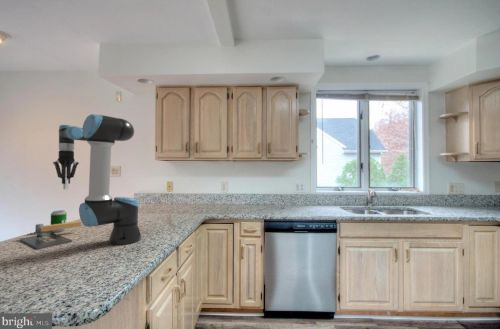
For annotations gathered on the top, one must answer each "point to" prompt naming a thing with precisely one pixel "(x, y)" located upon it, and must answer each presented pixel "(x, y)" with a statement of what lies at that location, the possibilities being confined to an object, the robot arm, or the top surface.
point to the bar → (56, 226)
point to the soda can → (58, 219)
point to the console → (45, 240)
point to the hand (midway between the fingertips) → (65, 189)
